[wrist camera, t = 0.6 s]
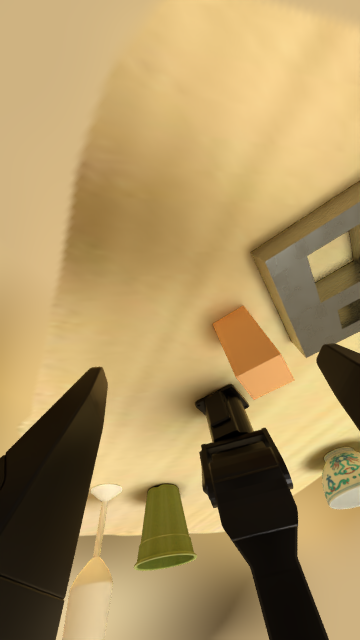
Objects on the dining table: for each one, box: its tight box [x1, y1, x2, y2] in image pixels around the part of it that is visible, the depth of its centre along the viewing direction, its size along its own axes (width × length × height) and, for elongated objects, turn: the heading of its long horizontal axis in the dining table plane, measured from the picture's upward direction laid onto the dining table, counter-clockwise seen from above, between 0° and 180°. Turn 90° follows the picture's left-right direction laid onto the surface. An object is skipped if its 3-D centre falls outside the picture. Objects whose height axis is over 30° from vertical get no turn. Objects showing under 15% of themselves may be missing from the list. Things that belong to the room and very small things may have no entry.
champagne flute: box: [62, 484, 122, 640], centre depth 35 cm, size 7×7×24 cm
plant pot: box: [134, 484, 197, 571], centre depth 43 cm, size 12×12×11 cm
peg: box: [213, 306, 294, 400], centre depth 21 cm, size 4×4×8 cm
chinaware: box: [322, 447, 360, 509], centre depth 45 cm, size 15×15×8 cm
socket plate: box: [251, 181, 360, 358], centre depth 21 cm, size 14×12×3 cm
